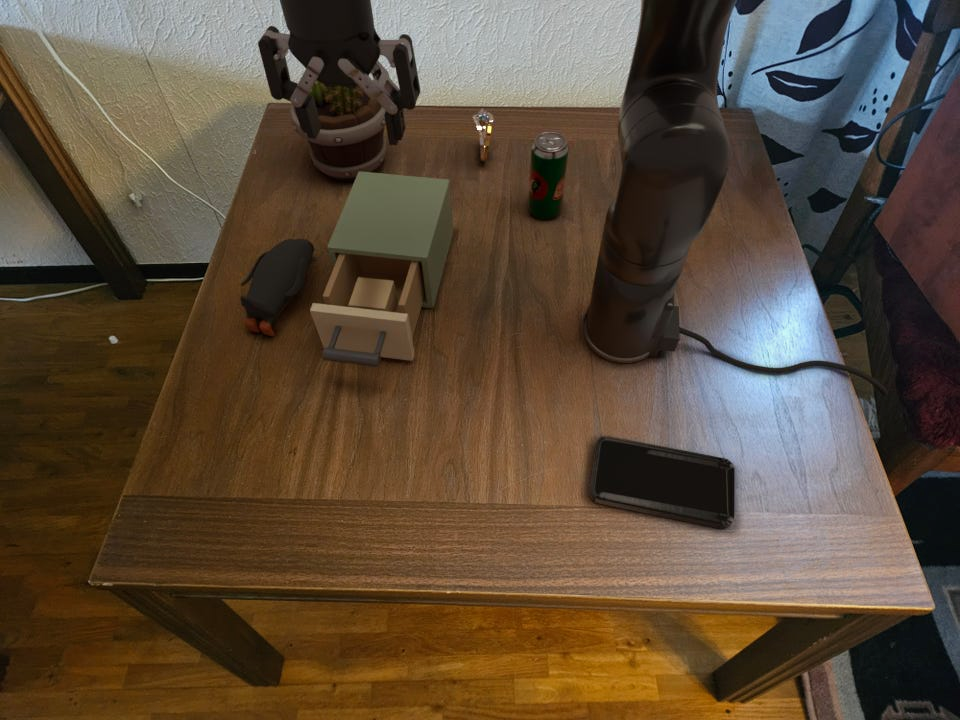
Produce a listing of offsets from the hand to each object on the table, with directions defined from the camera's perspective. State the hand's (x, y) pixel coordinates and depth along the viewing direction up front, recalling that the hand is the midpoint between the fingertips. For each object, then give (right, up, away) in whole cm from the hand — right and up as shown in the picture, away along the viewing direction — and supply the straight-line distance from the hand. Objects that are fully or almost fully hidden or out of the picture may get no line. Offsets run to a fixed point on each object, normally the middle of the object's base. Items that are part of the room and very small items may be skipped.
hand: (355, 137), depth 65 cm
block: (0, -17, +16) cm, 24 cm away
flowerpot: (-8, +9, +38) cm, 39 cm away
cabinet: (+2, -9, +24) cm, 26 cm away
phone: (+33, -36, +4) cm, 49 cm away
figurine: (-13, -14, +21) cm, 29 cm away
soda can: (+23, 0, +30) cm, 38 cm away
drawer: (0, -19, +16) cm, 25 cm away
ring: (+13, +10, +38) cm, 41 cm away
